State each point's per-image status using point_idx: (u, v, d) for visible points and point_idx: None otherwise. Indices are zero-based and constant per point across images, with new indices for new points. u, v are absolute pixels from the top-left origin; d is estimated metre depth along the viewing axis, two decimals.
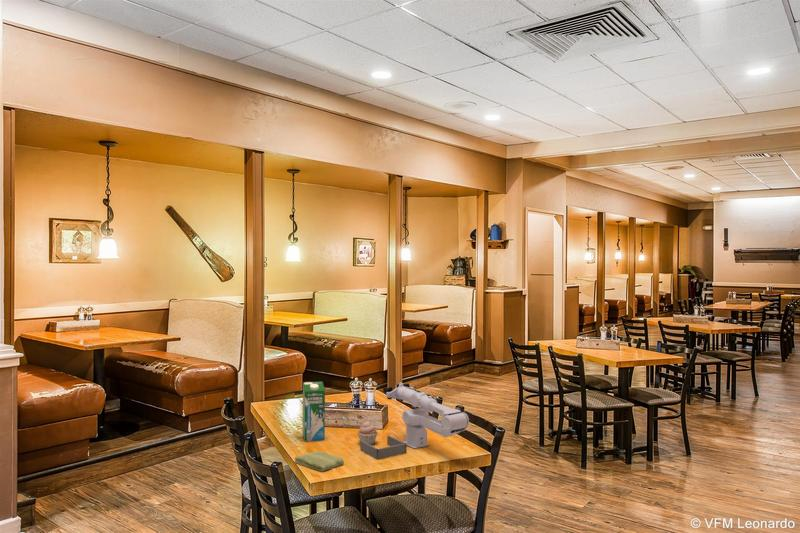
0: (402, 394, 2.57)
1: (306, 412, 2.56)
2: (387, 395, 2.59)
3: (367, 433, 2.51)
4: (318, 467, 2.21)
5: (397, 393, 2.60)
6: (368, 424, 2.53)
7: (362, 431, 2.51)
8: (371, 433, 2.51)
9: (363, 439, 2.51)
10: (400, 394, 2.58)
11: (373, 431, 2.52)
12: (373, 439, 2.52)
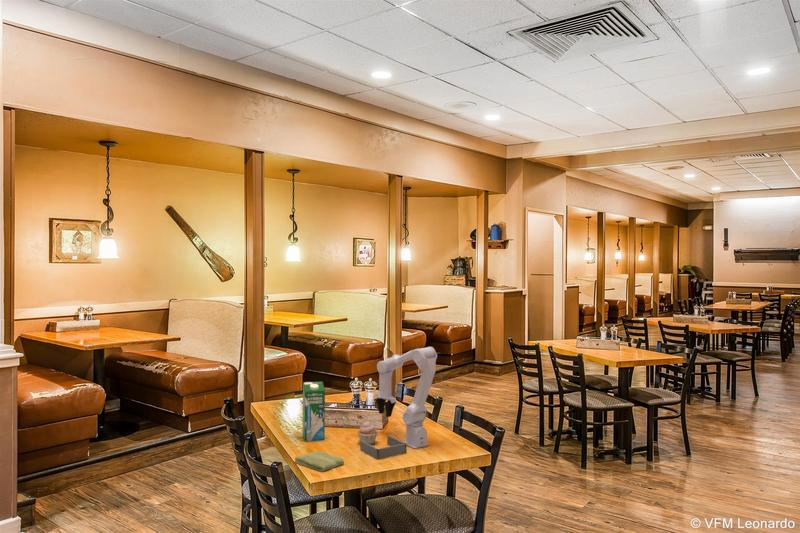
0: (387, 386, 2.64)
1: (306, 412, 2.56)
2: (394, 400, 2.60)
3: (367, 433, 2.51)
4: (318, 467, 2.21)
5: (388, 395, 2.64)
6: (368, 424, 2.53)
7: (362, 431, 2.51)
8: (371, 433, 2.51)
9: (363, 439, 2.51)
10: (387, 390, 2.64)
11: (373, 431, 2.52)
12: (373, 439, 2.52)
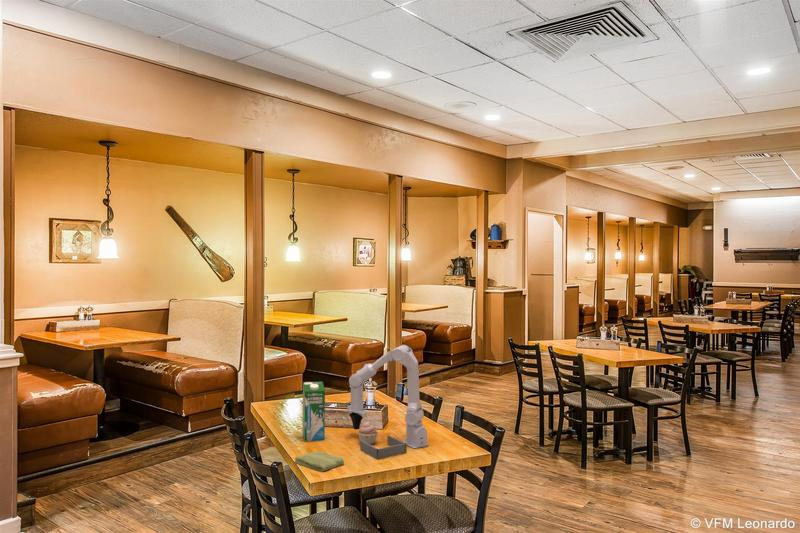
0: (358, 400, 2.60)
1: (306, 412, 2.56)
2: (365, 414, 2.56)
3: (367, 433, 2.51)
4: (319, 467, 2.21)
5: (359, 409, 2.60)
6: (368, 424, 2.53)
7: (362, 431, 2.51)
8: (371, 433, 2.51)
9: (363, 439, 2.51)
10: (359, 403, 2.60)
11: (373, 431, 2.52)
12: (373, 439, 2.52)
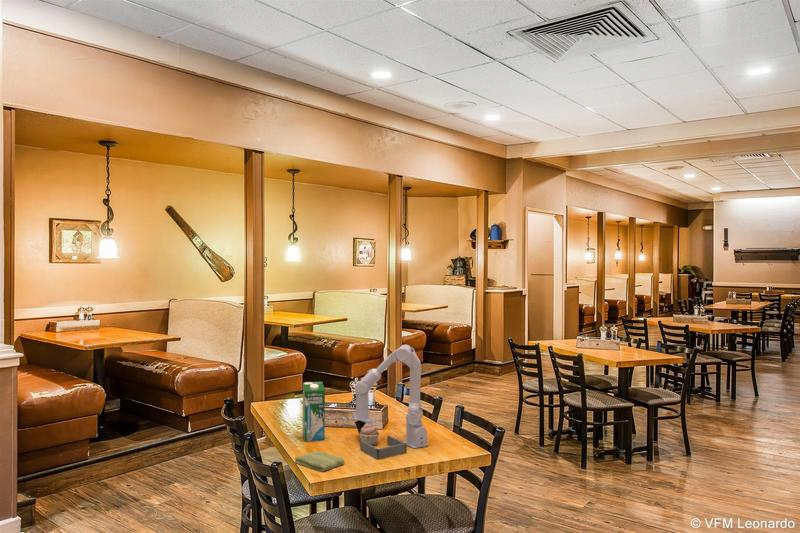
0: (364, 408, 2.56)
1: (306, 412, 2.56)
2: (370, 422, 2.52)
3: (368, 434, 2.50)
4: (319, 467, 2.21)
5: (364, 417, 2.56)
6: (369, 425, 2.52)
7: (363, 432, 2.50)
8: (372, 434, 2.50)
9: (364, 440, 2.50)
10: (364, 411, 2.56)
11: (374, 432, 2.51)
12: (374, 440, 2.51)
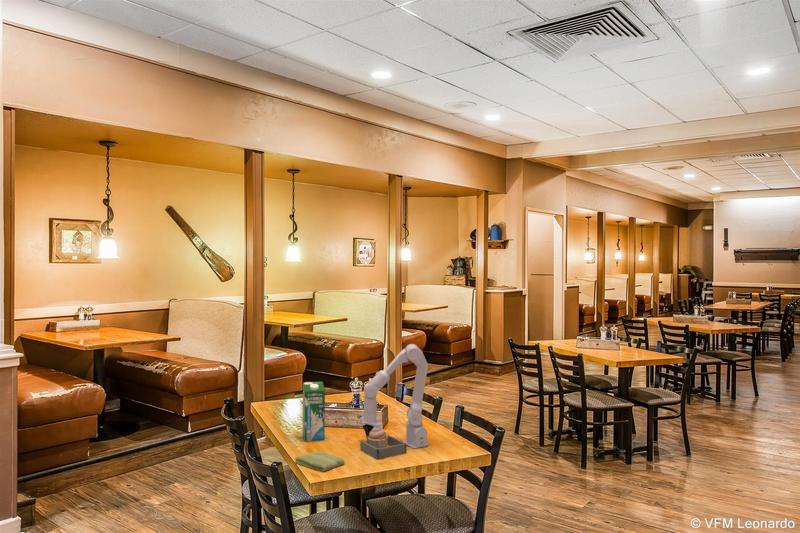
0: (372, 412, 2.50)
1: (306, 412, 2.56)
2: (379, 426, 2.47)
3: (377, 438, 2.44)
4: (319, 467, 2.21)
5: (372, 420, 2.50)
6: (378, 429, 2.46)
7: (372, 436, 2.44)
8: (381, 438, 2.44)
9: (373, 444, 2.44)
10: (372, 415, 2.50)
11: (383, 436, 2.45)
12: (383, 444, 2.45)
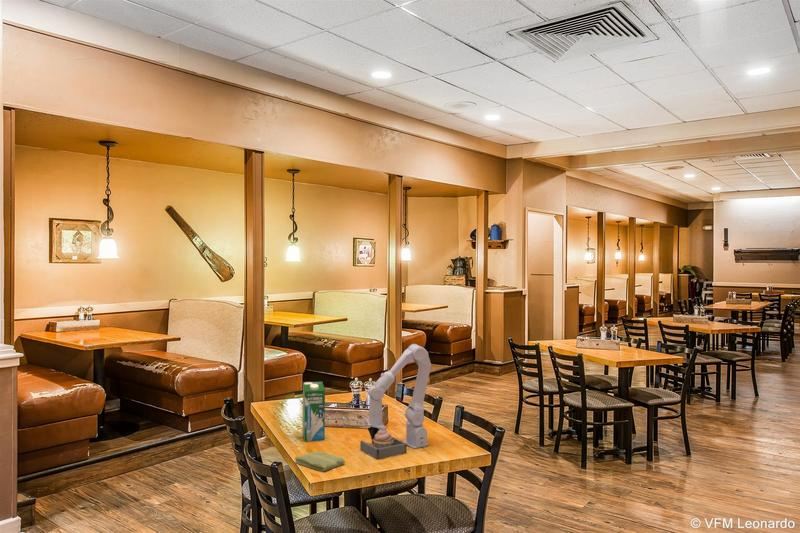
0: (377, 414, 2.46)
1: (306, 412, 2.56)
2: (384, 429, 2.43)
3: (383, 441, 2.40)
4: (319, 467, 2.21)
5: (378, 423, 2.46)
6: (383, 431, 2.42)
7: (377, 439, 2.41)
8: (387, 441, 2.40)
9: (378, 447, 2.40)
10: (378, 417, 2.46)
11: (389, 439, 2.41)
12: None
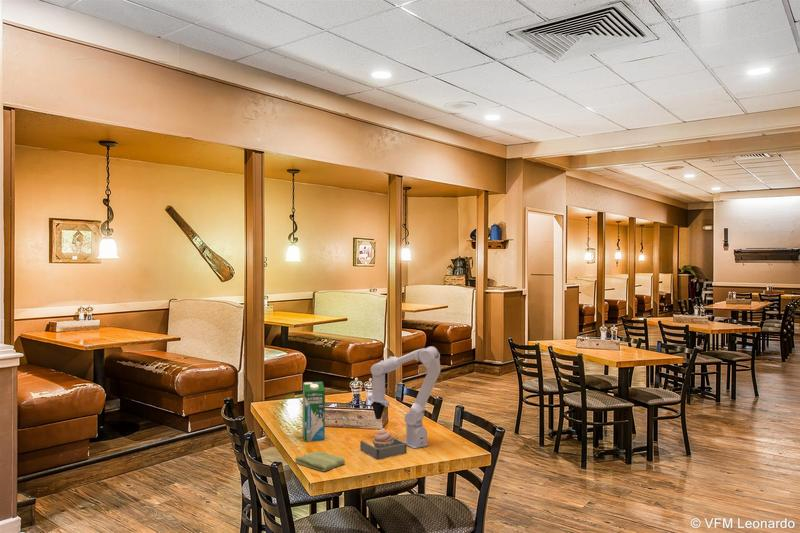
0: (380, 390, 2.57)
1: (306, 412, 2.56)
2: (387, 404, 2.54)
3: (383, 441, 2.40)
4: (320, 467, 2.21)
5: (381, 398, 2.57)
6: (383, 431, 2.42)
7: (377, 439, 2.41)
8: (387, 441, 2.40)
9: (378, 447, 2.40)
10: (381, 393, 2.57)
11: (389, 439, 2.41)
12: None
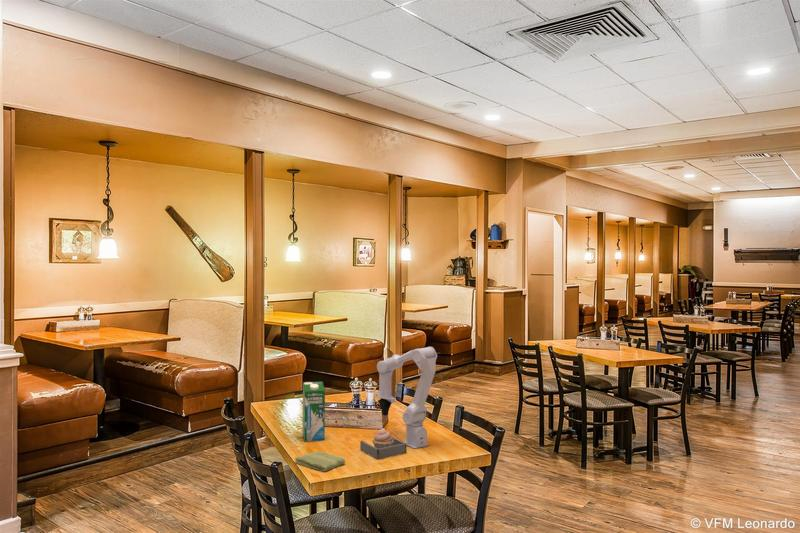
0: (387, 386, 2.64)
1: (306, 412, 2.56)
2: (394, 400, 2.60)
3: (383, 441, 2.40)
4: (320, 467, 2.21)
5: (388, 395, 2.64)
6: (384, 431, 2.42)
7: (377, 439, 2.41)
8: (387, 441, 2.40)
9: (378, 447, 2.40)
10: (387, 390, 2.64)
11: (389, 439, 2.41)
12: None
